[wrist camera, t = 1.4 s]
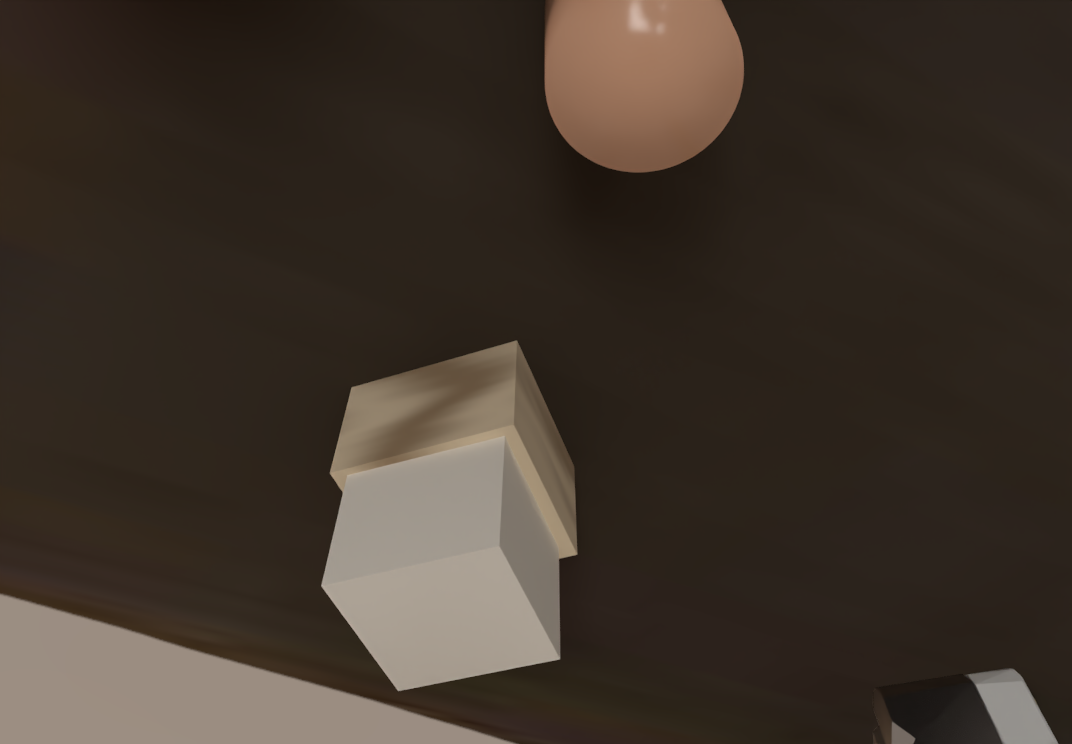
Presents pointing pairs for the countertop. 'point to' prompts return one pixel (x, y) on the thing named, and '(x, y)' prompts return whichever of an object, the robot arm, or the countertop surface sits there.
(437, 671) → the tower top
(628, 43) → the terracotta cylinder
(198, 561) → the countertop surface
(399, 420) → the tower base
